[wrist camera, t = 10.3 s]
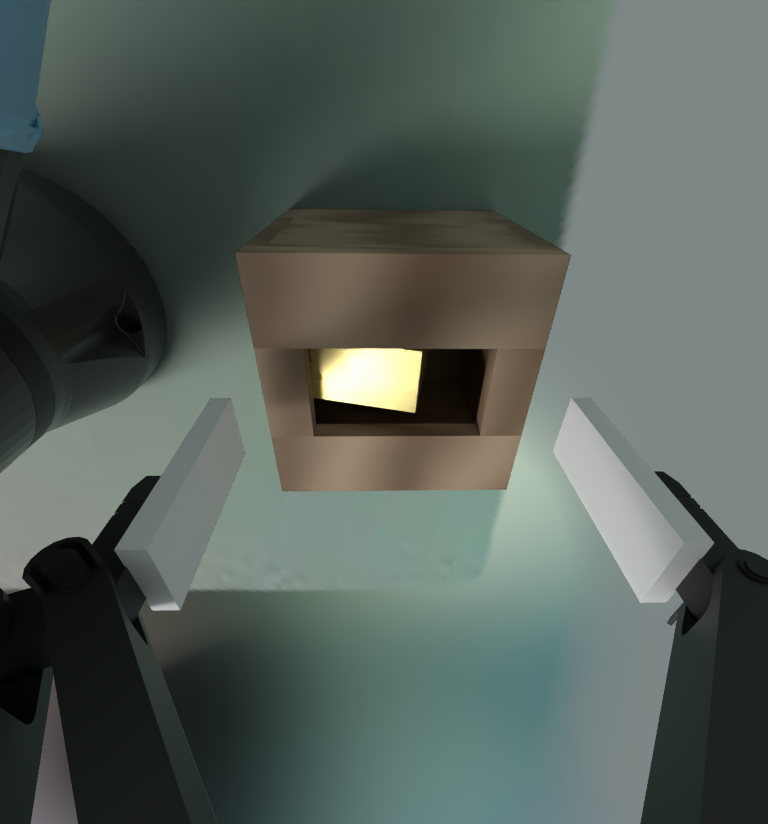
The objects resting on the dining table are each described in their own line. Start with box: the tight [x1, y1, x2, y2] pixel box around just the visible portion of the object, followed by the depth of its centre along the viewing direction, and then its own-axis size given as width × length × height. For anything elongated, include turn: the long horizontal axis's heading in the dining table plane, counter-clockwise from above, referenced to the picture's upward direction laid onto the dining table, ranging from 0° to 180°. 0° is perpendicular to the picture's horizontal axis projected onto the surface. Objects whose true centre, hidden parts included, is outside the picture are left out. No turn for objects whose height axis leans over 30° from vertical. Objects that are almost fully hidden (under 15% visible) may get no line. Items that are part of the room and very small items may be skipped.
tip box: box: [235, 209, 571, 491], centre depth 22 cm, size 12×12×11 cm
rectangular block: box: [308, 349, 430, 413], centre depth 21 cm, size 6×3×9 cm, turn 87°
